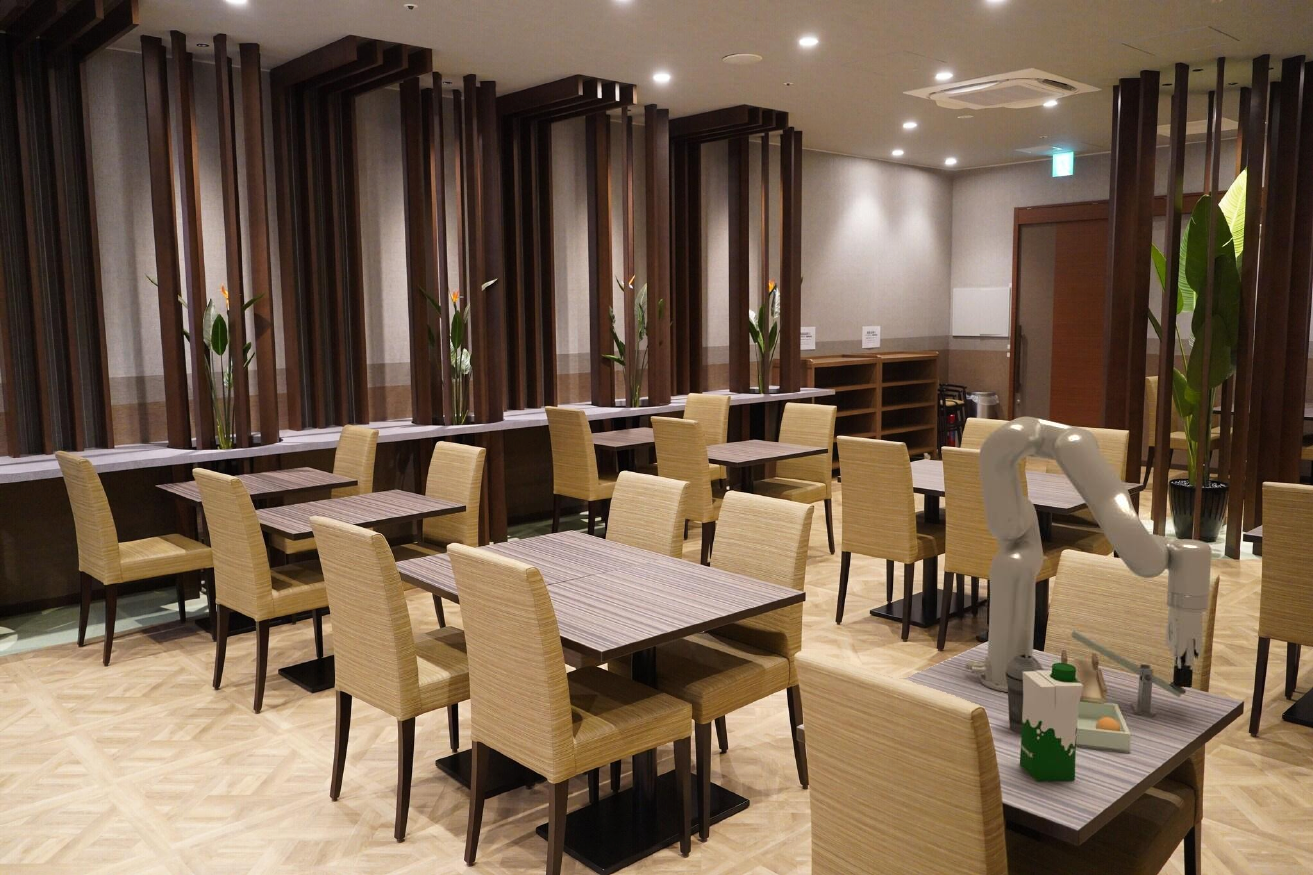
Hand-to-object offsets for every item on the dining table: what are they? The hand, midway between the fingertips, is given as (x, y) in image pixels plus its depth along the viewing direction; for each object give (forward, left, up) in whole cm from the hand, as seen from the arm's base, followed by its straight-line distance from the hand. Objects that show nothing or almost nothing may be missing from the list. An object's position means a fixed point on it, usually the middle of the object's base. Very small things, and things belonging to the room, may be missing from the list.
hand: (1182, 685), depth 205 cm
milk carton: (-29, -36, -7) cm, 47 cm away
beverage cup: (-32, -18, -7) cm, 38 cm away
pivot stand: (-7, 0, -6) cm, 9 cm away
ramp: (-19, -2, -6) cm, 21 cm away
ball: (-17, -19, -4) cm, 26 cm away
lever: (-11, 0, +3) cm, 11 cm away
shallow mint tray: (-19, -15, -6) cm, 26 cm away
